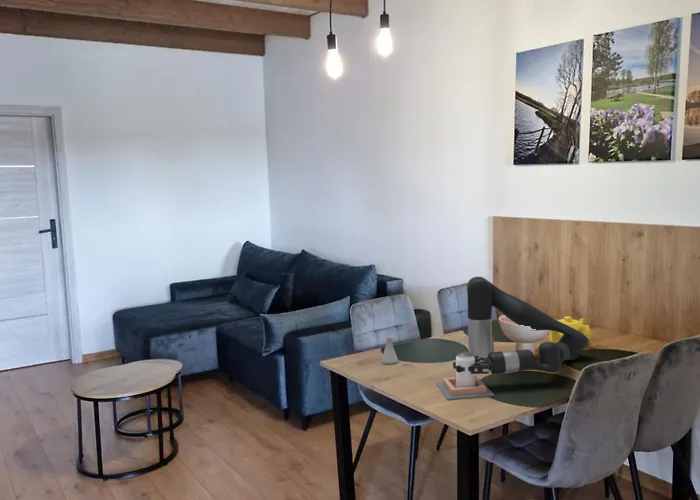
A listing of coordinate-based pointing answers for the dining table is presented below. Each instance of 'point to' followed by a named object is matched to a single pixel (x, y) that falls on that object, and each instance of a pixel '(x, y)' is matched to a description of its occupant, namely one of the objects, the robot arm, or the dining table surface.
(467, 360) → the can
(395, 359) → the flask
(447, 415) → the dining table surface
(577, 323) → the teapot
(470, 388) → the tray
